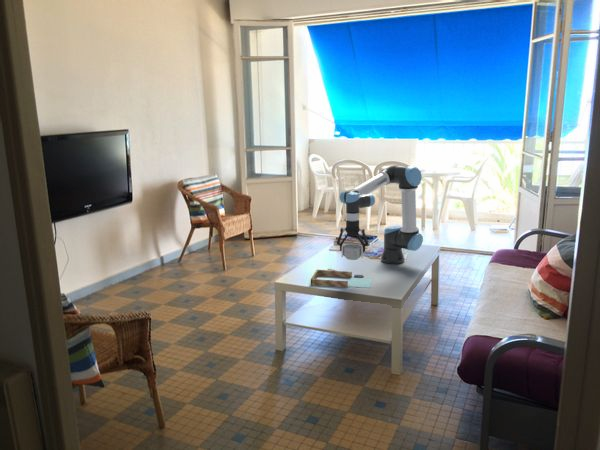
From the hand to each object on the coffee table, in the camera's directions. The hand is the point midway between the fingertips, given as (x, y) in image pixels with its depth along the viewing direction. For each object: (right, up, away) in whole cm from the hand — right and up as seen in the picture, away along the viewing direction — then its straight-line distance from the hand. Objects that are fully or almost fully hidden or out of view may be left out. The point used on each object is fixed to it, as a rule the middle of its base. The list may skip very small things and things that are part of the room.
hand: (352, 256), depth 306 cm
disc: (+5, -13, +13) cm, 19 cm away
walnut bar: (-8, -12, +21) cm, 26 cm away
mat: (+5, -15, +2) cm, 16 cm away
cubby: (-12, -15, +6) cm, 20 cm away
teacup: (+1, -2, 0) cm, 2 cm away
